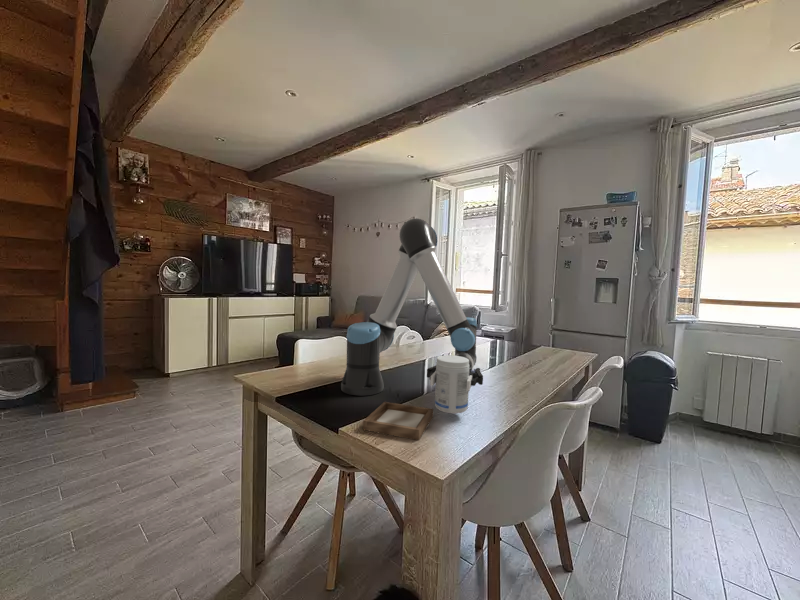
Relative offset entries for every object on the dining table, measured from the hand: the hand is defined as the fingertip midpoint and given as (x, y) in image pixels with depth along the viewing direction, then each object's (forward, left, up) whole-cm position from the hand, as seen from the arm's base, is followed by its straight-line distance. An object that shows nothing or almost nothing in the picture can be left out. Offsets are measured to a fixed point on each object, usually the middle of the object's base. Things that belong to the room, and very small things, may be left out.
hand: (449, 383), depth 92 cm
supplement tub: (0, +4, -9) cm, 10 cm away
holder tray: (-12, -7, -11) cm, 17 cm away
